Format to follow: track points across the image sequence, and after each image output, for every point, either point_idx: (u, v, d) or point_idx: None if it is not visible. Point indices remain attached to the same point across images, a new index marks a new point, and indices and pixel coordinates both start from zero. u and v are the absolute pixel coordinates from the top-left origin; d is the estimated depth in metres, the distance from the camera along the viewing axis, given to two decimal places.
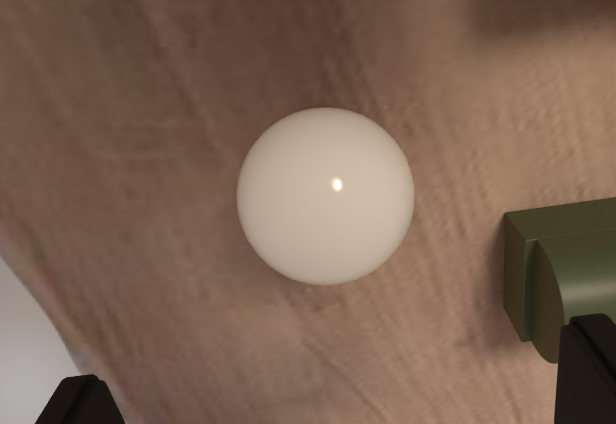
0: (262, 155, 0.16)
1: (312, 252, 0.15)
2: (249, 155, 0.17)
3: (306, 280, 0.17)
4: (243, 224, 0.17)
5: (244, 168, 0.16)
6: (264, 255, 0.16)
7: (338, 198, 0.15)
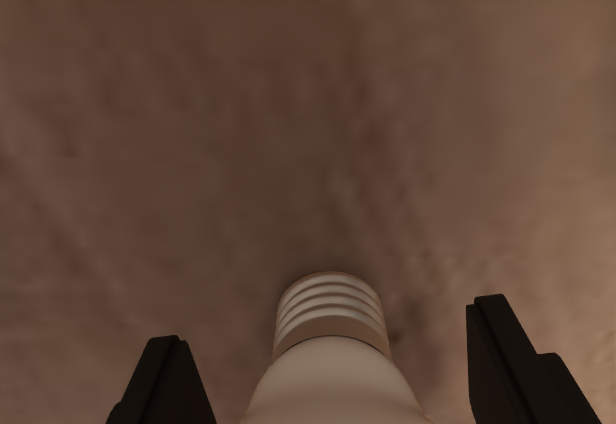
0: None
1: None
2: None
3: None
4: None
5: None
6: None
7: None
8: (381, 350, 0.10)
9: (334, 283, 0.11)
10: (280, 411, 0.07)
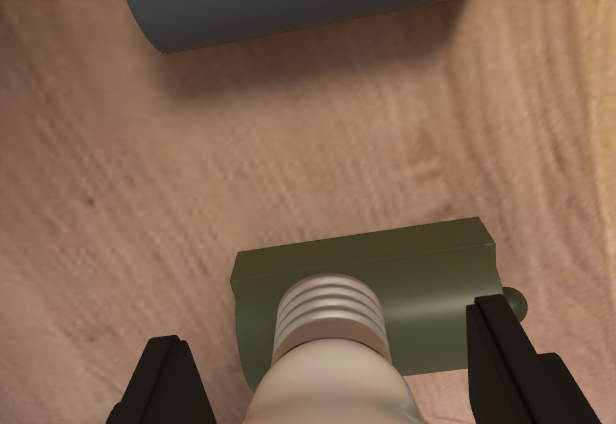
0: None
1: None
2: None
3: None
4: None
5: None
6: None
7: None
8: (381, 352, 0.10)
9: (333, 285, 0.12)
10: (280, 414, 0.07)
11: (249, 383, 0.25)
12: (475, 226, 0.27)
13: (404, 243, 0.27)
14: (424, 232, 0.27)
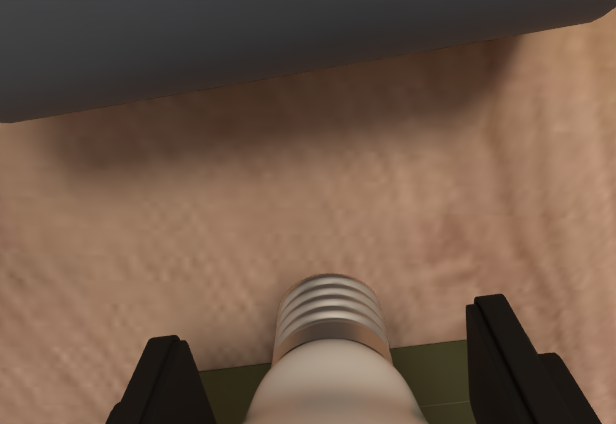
0: None
1: None
2: None
3: None
4: None
5: None
6: None
7: None
8: (381, 352, 0.10)
9: (334, 285, 0.12)
10: (281, 414, 0.07)
11: None
12: None
13: (419, 379, 0.18)
14: (448, 357, 0.19)
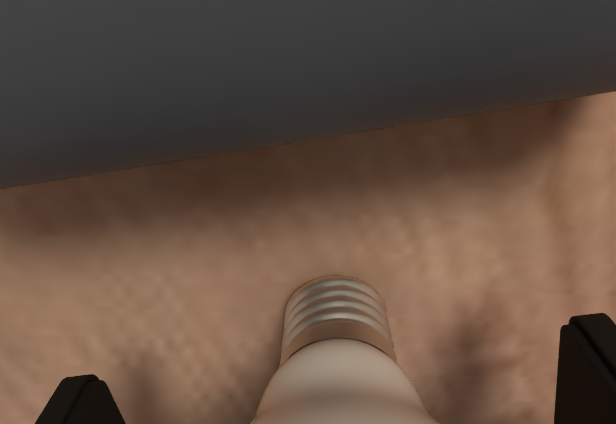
0: None
1: None
2: None
3: None
4: None
5: None
6: None
7: None
8: (386, 352, 0.10)
9: (340, 288, 0.12)
10: (293, 410, 0.07)
11: None
12: None
13: None
14: None
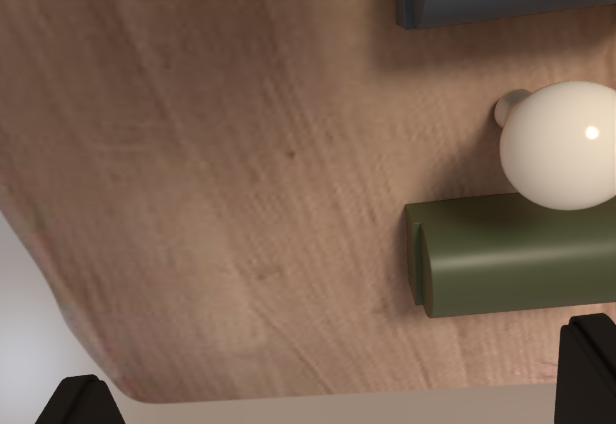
0: (547, 109, 0.22)
1: (587, 177, 0.22)
2: (528, 111, 0.23)
3: (566, 202, 0.23)
4: (521, 160, 0.23)
5: (525, 120, 0.23)
6: (538, 182, 0.23)
7: (614, 138, 0.21)
8: None
9: (525, 91, 0.30)
10: None
11: (434, 305, 0.30)
12: None
13: None
14: None
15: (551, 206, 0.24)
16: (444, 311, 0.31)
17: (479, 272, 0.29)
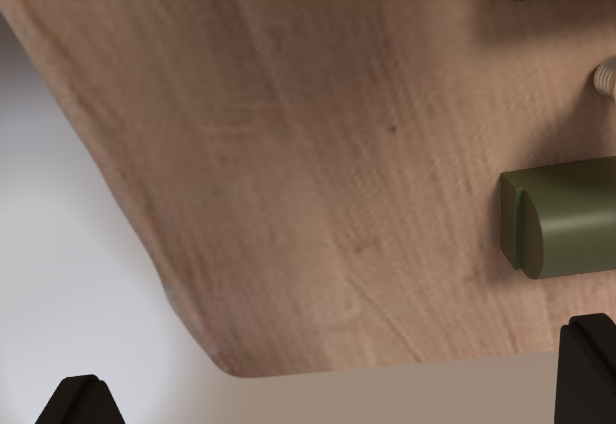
0: None
1: None
2: None
3: None
4: None
5: None
6: None
7: None
8: None
9: None
10: None
11: (544, 265, 0.32)
12: None
13: None
14: None
15: None
16: (552, 270, 0.32)
17: (589, 231, 0.31)
